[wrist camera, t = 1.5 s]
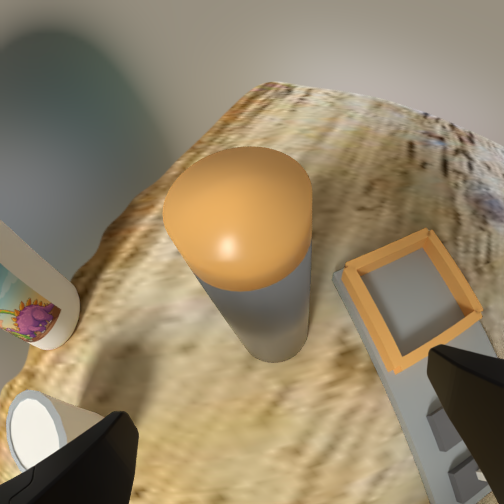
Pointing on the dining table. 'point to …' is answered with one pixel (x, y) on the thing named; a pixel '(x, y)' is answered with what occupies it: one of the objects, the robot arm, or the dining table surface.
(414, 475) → the dining table surface
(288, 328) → the grey orange cylinder
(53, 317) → the milk bottle
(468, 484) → the breaker panel
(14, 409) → the white tapered cup
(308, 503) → the dining table surface
